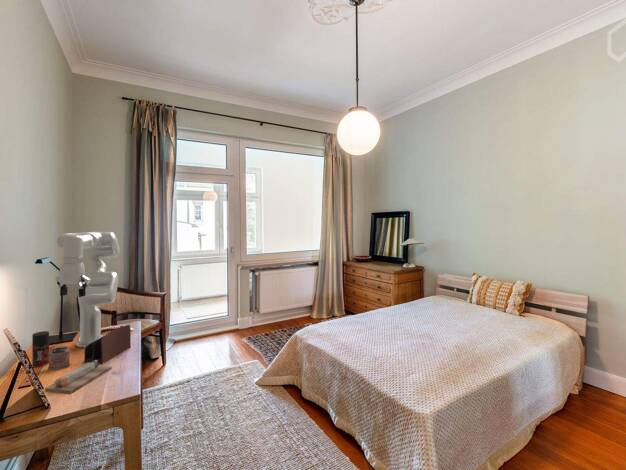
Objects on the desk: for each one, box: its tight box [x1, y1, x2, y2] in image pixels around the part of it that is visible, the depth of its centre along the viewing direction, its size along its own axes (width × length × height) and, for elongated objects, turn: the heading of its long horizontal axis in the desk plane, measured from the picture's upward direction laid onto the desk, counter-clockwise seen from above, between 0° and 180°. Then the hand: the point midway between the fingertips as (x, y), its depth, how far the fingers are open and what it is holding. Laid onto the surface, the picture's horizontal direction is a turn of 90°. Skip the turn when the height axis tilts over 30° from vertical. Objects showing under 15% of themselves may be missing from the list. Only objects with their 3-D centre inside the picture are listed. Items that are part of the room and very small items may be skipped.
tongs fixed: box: [55, 360, 98, 387], centre depth 133 cm, size 18×2×3 cm, turn 174°
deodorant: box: [31, 330, 50, 368], centre depth 145 cm, size 6×6×15 cm
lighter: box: [47, 345, 71, 371], centre depth 142 cm, size 8×3×10 cm, turn 114°
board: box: [44, 364, 113, 394], centre depth 133 cm, size 21×12×1 cm, turn 174°
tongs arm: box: [60, 362, 95, 387], centre depth 132 cm, size 16×1×3 cm, turn 173°
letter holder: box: [83, 324, 132, 365], centre depth 157 cm, size 10×20×14 cm, turn 174°
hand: (72, 295), depth 145 cm, fingers open, 9 cm apart
